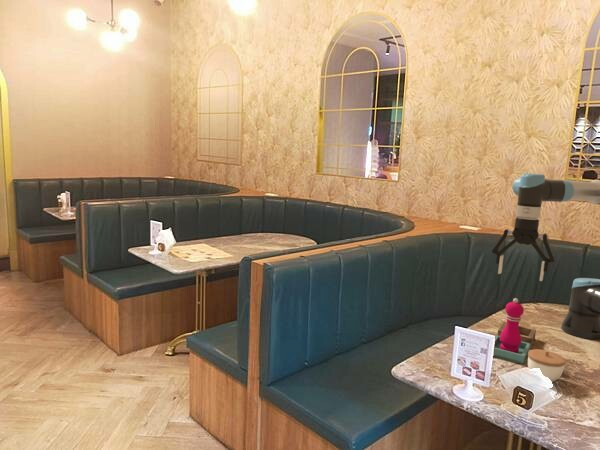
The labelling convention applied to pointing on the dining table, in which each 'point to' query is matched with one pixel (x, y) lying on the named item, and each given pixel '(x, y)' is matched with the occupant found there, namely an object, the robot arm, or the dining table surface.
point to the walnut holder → (522, 333)
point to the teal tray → (511, 356)
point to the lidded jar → (546, 363)
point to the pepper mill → (512, 327)
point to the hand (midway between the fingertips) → (520, 276)
